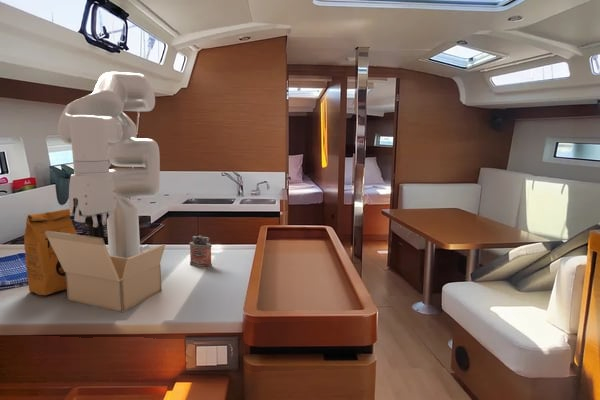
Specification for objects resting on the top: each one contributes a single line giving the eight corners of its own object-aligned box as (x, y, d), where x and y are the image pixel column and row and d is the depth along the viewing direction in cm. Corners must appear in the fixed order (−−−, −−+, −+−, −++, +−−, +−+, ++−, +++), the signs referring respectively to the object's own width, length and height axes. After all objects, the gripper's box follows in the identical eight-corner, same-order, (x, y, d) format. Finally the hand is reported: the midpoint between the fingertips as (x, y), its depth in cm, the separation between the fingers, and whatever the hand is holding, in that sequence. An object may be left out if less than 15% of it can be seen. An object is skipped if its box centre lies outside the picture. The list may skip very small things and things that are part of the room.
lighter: (187, 265, 126) (186, 236, 125) (194, 262, 129) (193, 233, 128) (208, 268, 123) (207, 238, 122) (214, 265, 126) (213, 236, 125)
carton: (104, 280, 112) (101, 235, 109) (168, 292, 104) (166, 243, 102) (61, 299, 99) (56, 248, 96) (130, 313, 91) (127, 259, 89)
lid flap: (46, 230, 91) (44, 231, 90) (102, 238, 85) (100, 239, 85) (66, 270, 96) (64, 271, 96) (119, 279, 91) (117, 281, 90)
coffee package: (90, 285, 108) (84, 209, 104) (42, 300, 98) (33, 217, 94) (72, 278, 113) (66, 205, 110) (24, 291, 103) (16, 212, 99)
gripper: (105, 164, 100) (109, 232, 103) (51, 169, 86) (58, 247, 89) (127, 166, 97) (131, 235, 100) (75, 171, 83) (82, 251, 87)
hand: (97, 241), depth 95 cm, fingers closed
